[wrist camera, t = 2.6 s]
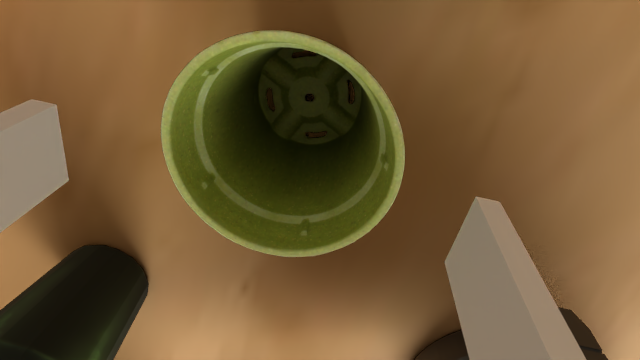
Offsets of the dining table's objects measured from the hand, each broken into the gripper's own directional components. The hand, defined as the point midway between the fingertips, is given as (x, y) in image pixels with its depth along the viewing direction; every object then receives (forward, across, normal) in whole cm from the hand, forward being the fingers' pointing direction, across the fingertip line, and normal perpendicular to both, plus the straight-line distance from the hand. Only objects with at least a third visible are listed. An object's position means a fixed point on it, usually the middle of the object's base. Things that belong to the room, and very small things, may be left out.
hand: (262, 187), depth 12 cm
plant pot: (+12, 0, +1) cm, 12 cm away
